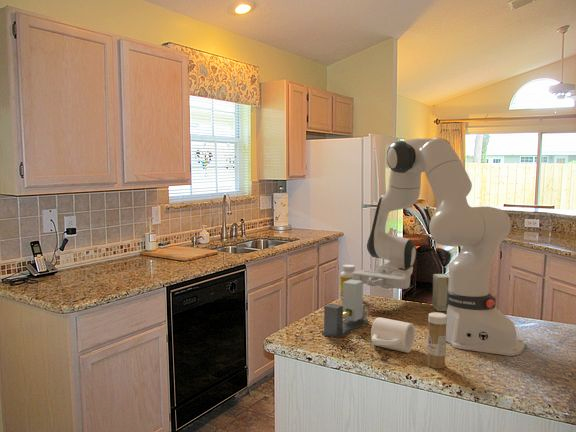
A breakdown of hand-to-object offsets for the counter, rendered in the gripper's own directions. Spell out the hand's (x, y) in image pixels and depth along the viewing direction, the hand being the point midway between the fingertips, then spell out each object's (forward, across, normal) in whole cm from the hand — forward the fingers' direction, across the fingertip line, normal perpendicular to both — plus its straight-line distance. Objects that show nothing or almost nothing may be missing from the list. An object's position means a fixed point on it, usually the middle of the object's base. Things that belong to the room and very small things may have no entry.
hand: (370, 283), depth 165 cm
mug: (+27, +19, +11) cm, 35 cm away
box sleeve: (+13, 0, +9) cm, 16 cm away
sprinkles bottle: (+30, +33, +11) cm, 46 cm away
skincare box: (-20, +18, +11) cm, 29 cm away
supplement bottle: (-14, -16, +11) cm, 24 cm away
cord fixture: (+17, 0, +11) cm, 21 cm away
